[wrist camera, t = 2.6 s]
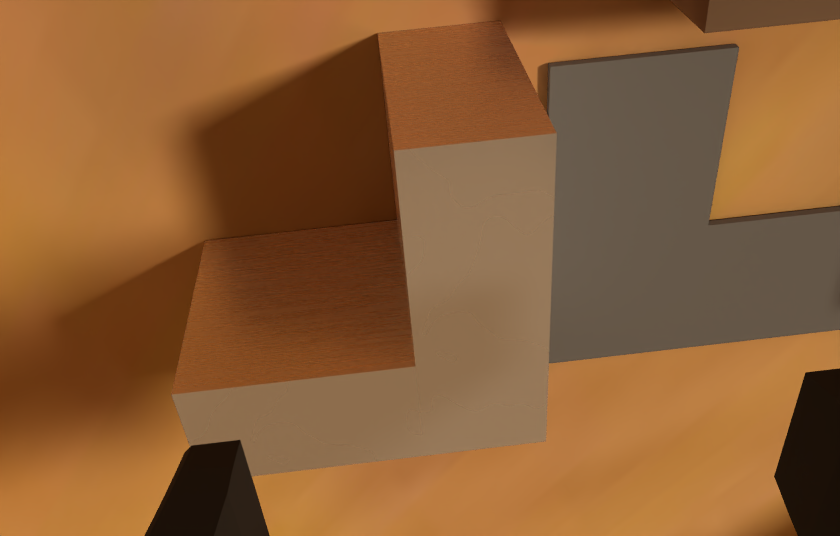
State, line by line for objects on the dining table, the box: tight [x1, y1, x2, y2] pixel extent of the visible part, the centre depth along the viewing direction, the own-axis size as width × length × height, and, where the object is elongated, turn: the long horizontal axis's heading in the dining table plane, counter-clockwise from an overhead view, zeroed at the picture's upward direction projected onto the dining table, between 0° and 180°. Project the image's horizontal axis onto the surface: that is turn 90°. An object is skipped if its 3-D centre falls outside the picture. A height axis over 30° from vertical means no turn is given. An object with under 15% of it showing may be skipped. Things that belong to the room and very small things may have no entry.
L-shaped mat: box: [547, 44, 840, 363], centre depth 19 cm, size 8×8×1 cm
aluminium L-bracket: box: [171, 21, 557, 476], centre depth 16 cm, size 7×7×5 cm
